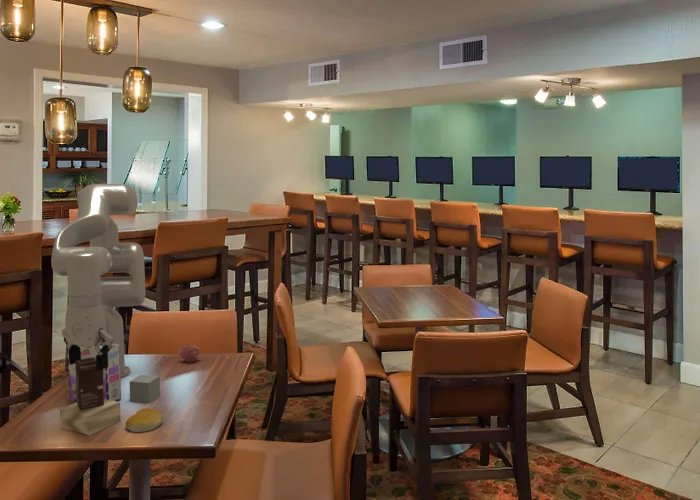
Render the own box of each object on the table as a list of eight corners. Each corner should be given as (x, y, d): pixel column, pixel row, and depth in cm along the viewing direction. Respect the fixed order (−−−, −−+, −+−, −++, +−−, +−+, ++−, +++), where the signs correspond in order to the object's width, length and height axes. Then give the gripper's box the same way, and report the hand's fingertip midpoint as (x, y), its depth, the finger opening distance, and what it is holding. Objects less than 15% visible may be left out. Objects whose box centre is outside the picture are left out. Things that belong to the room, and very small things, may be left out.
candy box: (122, 399, 173) (120, 343, 171) (108, 406, 168) (105, 348, 166) (84, 393, 178) (81, 339, 176) (68, 400, 172) (65, 344, 170)
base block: (61, 428, 153) (60, 409, 152) (93, 414, 162) (92, 396, 161) (89, 435, 149) (88, 415, 148) (120, 420, 158) (119, 402, 157)
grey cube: (130, 401, 171) (129, 381, 171) (141, 394, 177) (140, 374, 176) (149, 403, 170) (148, 382, 169) (160, 395, 176) (159, 376, 175)
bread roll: (119, 432, 151) (119, 416, 151) (140, 418, 160) (139, 403, 159) (149, 435, 149) (148, 419, 149) (168, 421, 158) (167, 406, 158)
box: (80, 410, 151) (77, 364, 150) (76, 405, 155) (74, 359, 154) (105, 405, 155) (103, 360, 153) (101, 400, 158) (99, 355, 157)
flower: (195, 349, 203) (194, 336, 207) (174, 358, 203) (172, 346, 207) (206, 361, 209) (204, 348, 213) (185, 370, 209) (183, 358, 213)
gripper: (48, 299, 152) (52, 365, 154) (98, 307, 145) (101, 375, 147) (73, 294, 159) (76, 356, 161) (122, 301, 151) (125, 366, 154)
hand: (88, 365), depth 154 cm, fingers open, 9 cm apart
